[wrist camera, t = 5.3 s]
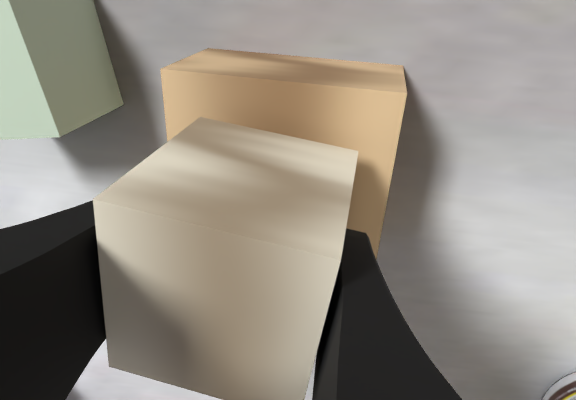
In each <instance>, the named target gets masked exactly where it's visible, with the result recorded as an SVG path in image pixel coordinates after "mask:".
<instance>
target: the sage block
mask: <svg viewBox="0 0 576 400" xmlns="http://www.w3.org/2000/svg"><path fill="white" fill-rule="evenodd" d="M122 105H124V104H123V101H122V97H121V94H120V90H119V87H118V83H117V80H116V77H115V73H114V70H113V66H112V63H111V59H110V56H109V53H108V49H107V46H106V42H105V39H104V35H103V32H102V29H101V25H100V22H99V18H98V15H97V11H96V8H95V5H94V1H93V0H0V140H6V139H30V138H53V137H61V136H63V135H65V134H67V133H69V132H71V131H73V130H75V129H77V128H79V127H81V126H83V125H85V124H87V123H89V122H91V121H93V120H95V119H97V118H99V117H101V116H103V115H105V114H106V113H108V112H110V111H112V110H114V109H116V108H118V107H120V106H122Z"/></svg>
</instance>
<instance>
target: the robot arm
mask: <svg viewBox="0 0 576 400" xmlns="http://www.w3.org/2000/svg"><path fill="white" fill-rule="evenodd" d="M105 339H106V330H105V320H104V310H103V299H102V289H101V279H100V269H99V258H98V248H97V238H96V227H95V217H94V207H93V200H92V201H90V202H87V203H84V204H81V205H79V206H76V207H73V208H70V209H67V210H64V211H61V212H57V213H54V214H51V215H48V216H45V217H42V218H39V219H36V220H33V221H29V222H26V223H22V224H18V225H15V226H11V227H7V228H3V229H0V400H65V399H66V398H67V396H68V394H69V393H70V391H71V390H72V388H73V386H74V385H75V383H76V382H77V380H78V379H79V377H80V375H81V374H82V372H83V371H84V369H85V367H86V366H87V364H88V363H89V361H90V359H91V358H92V357H93V355H94V354H95V352H96V351H97V350H98V348H99V347H100V345H101V344H102V343H103V341H104V340H105ZM312 400H462V399H461V398H460V397H459V395H458V394H457V393H456V392H455V390H454V389H453V388H452V387H451V385H450V384H449V383H448V382H447V380H446V379H445V378H444V377H443V375H442V374H441V373H440V372H439V370H438V369H437V368H436V367H435V365H434V364H433V363H432V361H431V360H430V358H429V357H428V356H427V354H426V353H425V351H424V350H423V348H422V347H421V345H420V344H419V342H418V341H417V339H416V338H415V336H414V335H413V333H412V331H411V330H410V328H409V326H408V325H407V323H406V321H405V319H404V318H403V316H402V314H401V312H400V310H399V308H398V307H397V305H396V303H395V301H394V299H393V297H392V295H391V293H390V291H389V289H388V286H387V284H386V282H385V280H384V278H383V275H382V273H381V271H380V268H379V266H378V263H377V260H376V258H375V255H374V252H373V249H372V246H371V243H370V239H369V237H368V235H367V234H366V233H364V232H360V231H356V230H351V229H347V228H346V232H345V238H344V245H343V251H342V257H341V262H340V266H339V269H338V273H337V277H336V281H335V285H334V288H333V292H332V296H331V300H330V304H329V307H328V311H327V315H326V319H325V323H324V326H323V330H322V334H321V338H320V342H319V345H318V349H317V355H316V366H315V376H314V387H313V398H312Z"/></svg>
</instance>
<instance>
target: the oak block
mask: <svg viewBox="0 0 576 400" xmlns="http://www.w3.org/2000/svg"><path fill="white" fill-rule="evenodd" d="M161 80H162V90H163V100H164V111H165V121H166V131H167V142H168V141H169V140H171V139H172V138H173V137H174V136H176V135H177V134H178V133H180V132H181V131H182V130H184V129H185V128H186V127H188V126H189V125H190V124H191V123H193V122H194V121H195V120H197V119H198V118H199V117H204V118H208V119H213V120H217V121H222V122H227V123H231V124H236V125H240V126H245V127H250V128H254V129H259V130H264V131H268V132H273V133H277V134H282V135H287V136H291V137H296V138H301V139H305V140H310V141H314V142H319V143H324V144H328V145H333V146H338V147H342V148H347V149H351V150H356V151H358V158H357V164H356V170H355V176H354V182H353V189H352V195H351V201H350V207H349V214H348V220H347V226H346V228H347V229H351V230H356V231H360V232H364V233H366V234H367V235H368V237H369V239H370V243H371V246H372V249H373V252H374V255H375V258H377V253H378V247H379V242H380V237H381V231H382V226H383V220H384V215H385V210H386V204H387V199H388V194H389V188H390V183H391V177H392V172H393V167H394V161H395V156H396V151H397V145H398V140H399V134H400V129H401V124H402V118H403V113H404V107H405V102H406V97H407V89H406V82H405V76H404V69H403V66H402V65H390V64H379V63H368V62H357V61H345V60H334V59H323V58H312V57H300V56H289V55H278V54H267V53H255V52H244V51H233V50H222V49H210V48H208V49H205V50H203V51H201V52H198V53H196V54H194V55H191V56H189V57H187V58H184V59H182V60H180V61H177V62H175V63H173V64H171V65H168V66H166V67H164V68H161Z"/></svg>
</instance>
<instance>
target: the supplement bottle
mask: <svg viewBox="0 0 576 400" xmlns="http://www.w3.org/2000/svg"><path fill="white" fill-rule="evenodd" d="M543 400H576V372H575V373H572V374H570V375H568V376H565V377H564V378H562V379H560V380H559V381H557V382H556V383H555V384H554V385H553V386H552V387H551V388H550V389H549V390H548V391H547V392H546V394H545V396H544V398H543Z"/></svg>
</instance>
